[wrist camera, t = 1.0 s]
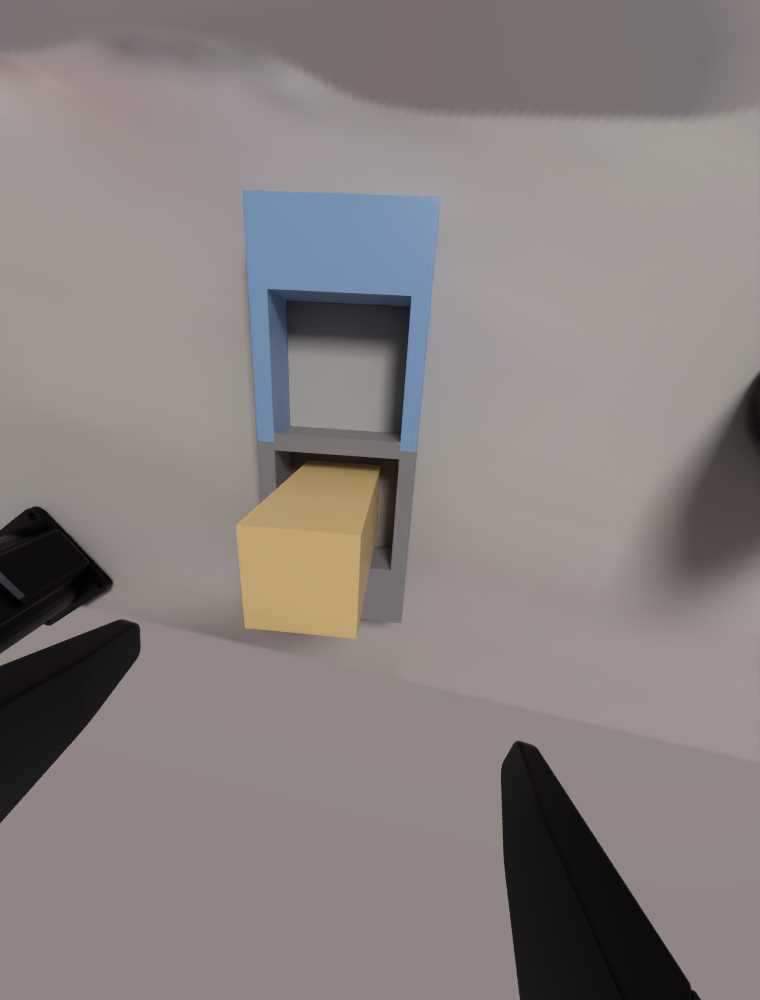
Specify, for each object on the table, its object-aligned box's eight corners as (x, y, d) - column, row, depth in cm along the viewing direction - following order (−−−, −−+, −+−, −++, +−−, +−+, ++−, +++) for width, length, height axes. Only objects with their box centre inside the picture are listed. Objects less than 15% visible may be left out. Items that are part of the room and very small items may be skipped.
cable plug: (376, 531, 21) (356, 638, 12) (309, 525, 21) (244, 627, 13) (380, 465, 20) (360, 535, 11) (308, 459, 20) (235, 524, 11)
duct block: (401, 596, 22) (401, 622, 20) (282, 585, 23) (267, 610, 20) (435, 223, 16) (440, 197, 13) (266, 217, 16) (242, 190, 14)
